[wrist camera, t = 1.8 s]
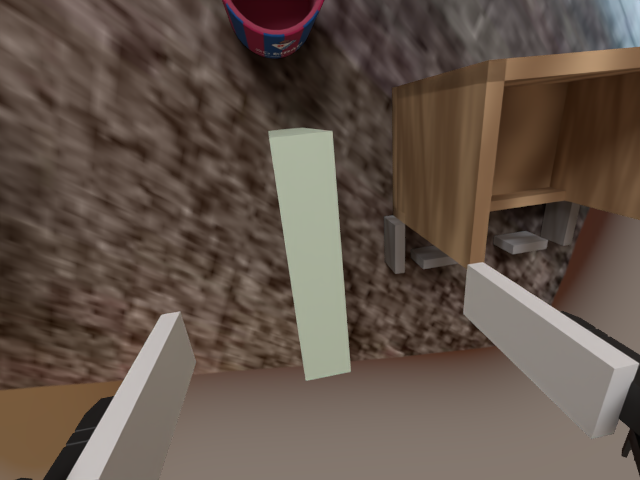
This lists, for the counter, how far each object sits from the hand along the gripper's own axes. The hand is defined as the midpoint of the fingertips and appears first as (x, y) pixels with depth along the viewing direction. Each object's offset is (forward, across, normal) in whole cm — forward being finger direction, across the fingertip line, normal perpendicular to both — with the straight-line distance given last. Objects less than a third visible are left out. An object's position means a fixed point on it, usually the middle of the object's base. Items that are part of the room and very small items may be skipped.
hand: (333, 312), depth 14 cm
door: (+18, 0, 0) cm, 18 cm away
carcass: (+18, +19, +2) cm, 26 cm away
